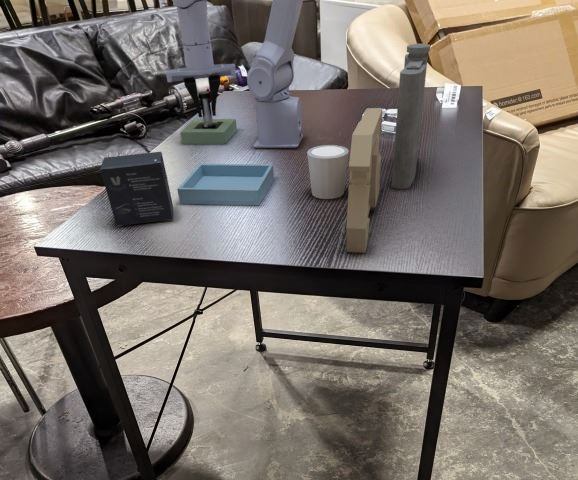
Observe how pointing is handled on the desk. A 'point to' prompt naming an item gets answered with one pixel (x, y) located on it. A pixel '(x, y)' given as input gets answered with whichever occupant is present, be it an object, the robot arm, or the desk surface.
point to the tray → (226, 184)
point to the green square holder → (209, 132)
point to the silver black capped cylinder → (206, 111)
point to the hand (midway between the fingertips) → (207, 115)
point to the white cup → (327, 170)
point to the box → (137, 188)
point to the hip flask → (409, 115)
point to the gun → (363, 178)
